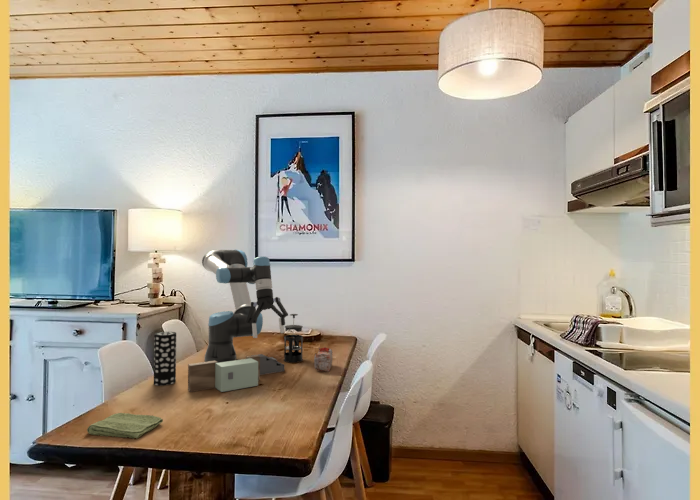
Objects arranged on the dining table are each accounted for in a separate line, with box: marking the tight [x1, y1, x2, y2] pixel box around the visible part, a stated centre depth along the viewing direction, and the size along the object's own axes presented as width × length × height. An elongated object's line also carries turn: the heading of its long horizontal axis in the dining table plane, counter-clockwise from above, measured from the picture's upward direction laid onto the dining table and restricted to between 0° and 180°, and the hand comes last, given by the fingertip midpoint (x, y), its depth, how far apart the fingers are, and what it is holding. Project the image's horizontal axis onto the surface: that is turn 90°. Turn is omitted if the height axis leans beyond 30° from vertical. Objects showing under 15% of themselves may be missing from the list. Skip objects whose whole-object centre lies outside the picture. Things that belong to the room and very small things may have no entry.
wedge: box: [250, 353, 286, 376], centre depth 200 cm, size 5×14×8 cm, turn 126°
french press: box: [283, 313, 304, 364], centre depth 222 cm, size 12×9×23 cm
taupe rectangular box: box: [187, 354, 261, 393], centre depth 180 cm, size 3×28×10 cm, turn 126°
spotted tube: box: [153, 331, 177, 387], centre depth 182 cm, size 8×8×20 cm
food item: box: [313, 346, 333, 373], centre depth 207 cm, size 14×8×10 cm, turn 179°
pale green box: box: [214, 358, 259, 393], centre depth 177 cm, size 8×15×10 cm, turn 126°
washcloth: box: [86, 412, 164, 440], centre depth 135 cm, size 13×18×3 cm
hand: (268, 335), depth 203 cm, fingers open, 13 cm apart
